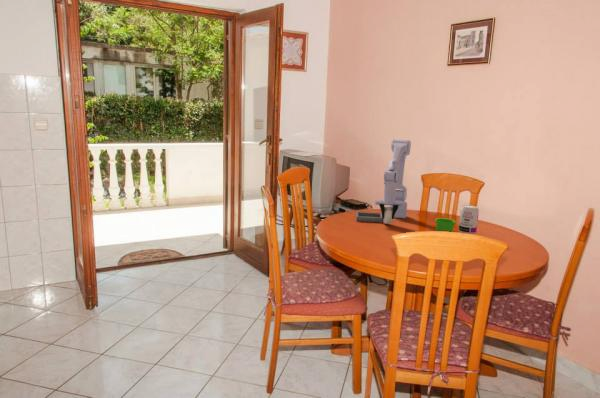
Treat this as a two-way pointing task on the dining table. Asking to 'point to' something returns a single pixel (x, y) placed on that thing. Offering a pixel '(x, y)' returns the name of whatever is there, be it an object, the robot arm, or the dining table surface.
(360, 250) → the dining table surface
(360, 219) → the tray
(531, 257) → the dining table surface
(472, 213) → the supplement can
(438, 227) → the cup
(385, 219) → the shaker
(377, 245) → the dining table surface
